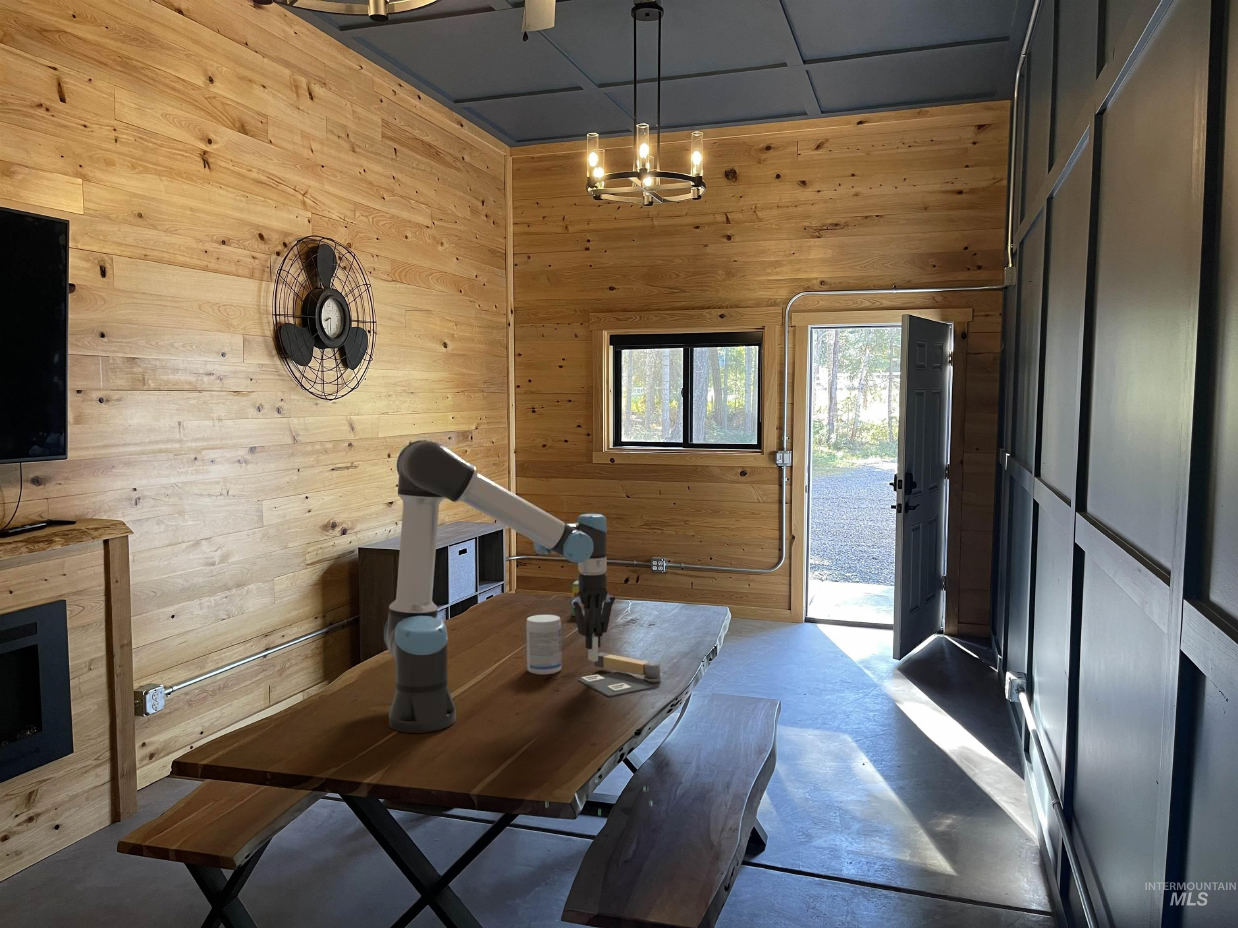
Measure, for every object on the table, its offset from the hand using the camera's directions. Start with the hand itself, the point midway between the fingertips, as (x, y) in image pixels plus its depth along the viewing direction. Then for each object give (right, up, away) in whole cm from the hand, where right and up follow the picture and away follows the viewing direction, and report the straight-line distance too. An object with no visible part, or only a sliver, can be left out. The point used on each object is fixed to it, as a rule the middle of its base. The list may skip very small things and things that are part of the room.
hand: (593, 659), depth 232 cm
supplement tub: (-14, -5, +9) cm, 18 cm away
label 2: (+7, -6, -7) cm, 12 cm away
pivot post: (+16, -6, -1) cm, 17 cm away
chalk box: (-5, -1, +76) cm, 76 cm away
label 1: (0, -6, 0) cm, 6 cm away
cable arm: (+9, -4, +4) cm, 11 cm away
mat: (+6, -6, -3) cm, 9 cm away
